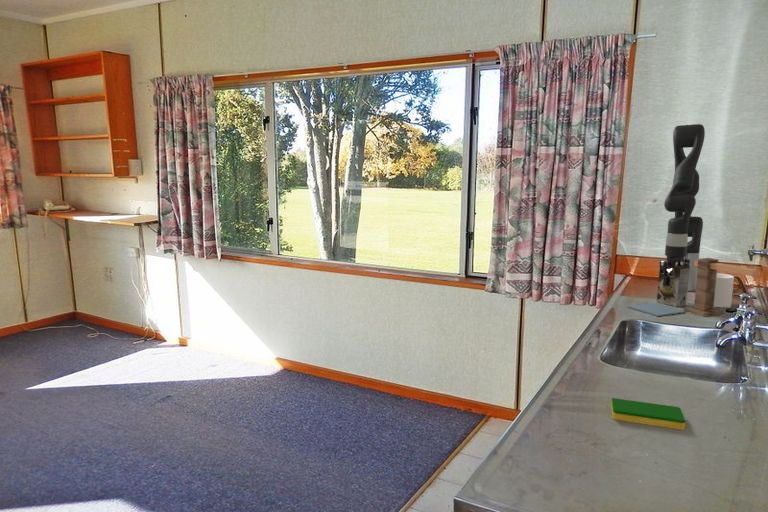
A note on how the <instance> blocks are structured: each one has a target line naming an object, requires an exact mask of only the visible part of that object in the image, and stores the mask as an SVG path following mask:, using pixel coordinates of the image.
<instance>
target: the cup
mask: <svg viewBox="0 0 768 512" xmlns="http://www.w3.org/2000/svg"><path fill="white" fill-rule="evenodd" d="M734 280H735V277H734V276H733V275H730V274H726V273H719V272H717V276H716V286H715V296H714V306H713V307H725V308H724V309H727V308H726V307H729V308H731V307H732V301H733V300H732V299H733V292H734V291H733V290H734V282H735V281H734Z"/></svg>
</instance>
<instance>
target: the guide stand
mask: <svg viewBox="0 0 768 512" xmlns="http://www.w3.org/2000/svg"><path fill="white" fill-rule="evenodd" d="M710 262H715V263H719V262H720V261H719V259H718V258H711V257H706V258H705V257H703V258H699V259H698V265H697V268H698V271H697V282H696V290H695V292H694V295H695V297H694V303H693V304H694V306H690V307H684V310H683V311H685V312H686V311H687V312H686V313H689V312H691V313H690V314H693V313H694V315H697V314H698V316H700V315H702V316H701V317H708V316H707V315H710V316H715V315H714V314H717V315H722V314H723V310H722V309H720V308H713V306H714V296H715V286H716V276H717V273H718V270H715V269H710V268H709V265H710ZM721 313H722V314H721Z"/></svg>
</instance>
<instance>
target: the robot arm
mask: <svg viewBox="0 0 768 512" xmlns="http://www.w3.org/2000/svg"><path fill="white" fill-rule="evenodd" d="M705 133H706V130H705V126H704V125H703V124H700V123H697V124H696V123H694V124H684V125H683V124H682V125H676V126H675V127H674V129H673V133H672V143H673V144H672V145H673V156H674V175H673V179H672V186H671V188H670V190H669V192H668V194H667V195H666V198H665V200H664V209H665V210H666V211H668V212H670V213H674V217H672V218H670V219H669V220H668V222H667V233H666V238H665V250H664V255H665V257H666V259H665V260H660V261H659V270H660V273H659V274H660V275H662V276H663V277H664V278H663V285H664V286H669V283H670V275H671V272H672V270H673V268H671V269H667V266H668V265H669V266H677V265H680V266H683V265H684V266H689V267H690V272H689V281H688V291H687V292H694V291H695V292H696V282H697V271H698V268H697V266H694V262H695V260H698V259H700V249H701V241H702V233H703V227H704V220H703V218H702V217H701V216H692V213H693V211H694V209H695V207H696V205H697V203H696V202H697V201H696V196H697V195H698V193H699V190H700V175H699V172H698V171H697V169H696V168H697V164H698V162H699V159H700V156H701V152H702V149H703V146H704V142H705V136H706V135H705ZM685 148H691V150H690V152H689V153H688V154H687V155H686V153H685V151H684V149H685ZM689 238H691V240H689ZM663 270H664V273H663ZM667 271H669V272H668V274H667ZM659 274H658V275H659Z"/></svg>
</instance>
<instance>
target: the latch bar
mask: <svg viewBox="0 0 768 512" xmlns="http://www.w3.org/2000/svg"><path fill="white" fill-rule="evenodd" d="M697 265H698V260H695V262H694V266H697ZM709 268H710V269H715V270H717V271H722V272H726V273H733V274H737V275H738V274H739V275H744V276H750V277H758V276H759V275H760V274H759V272H760V270H759V269H755V268H750V267H745V266H738V265H731V264H726V263H721V262H720V263H719V262H718V263H715V262H710V265H709Z"/></svg>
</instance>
